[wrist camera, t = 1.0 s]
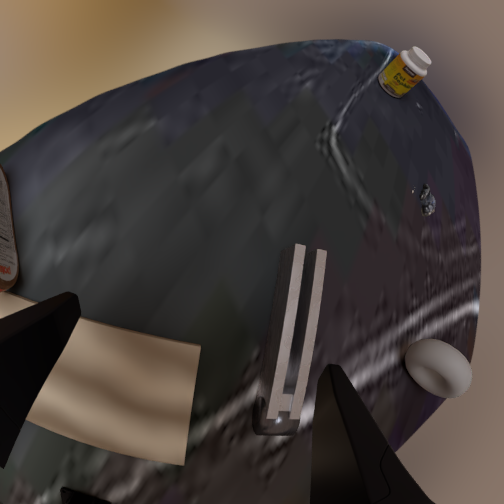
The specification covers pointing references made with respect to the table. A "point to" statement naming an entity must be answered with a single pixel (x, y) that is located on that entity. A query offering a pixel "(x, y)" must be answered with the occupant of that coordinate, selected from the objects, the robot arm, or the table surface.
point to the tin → (7, 238)
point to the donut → (438, 368)
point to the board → (118, 389)
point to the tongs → (289, 341)
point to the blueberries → (427, 201)
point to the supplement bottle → (404, 72)
